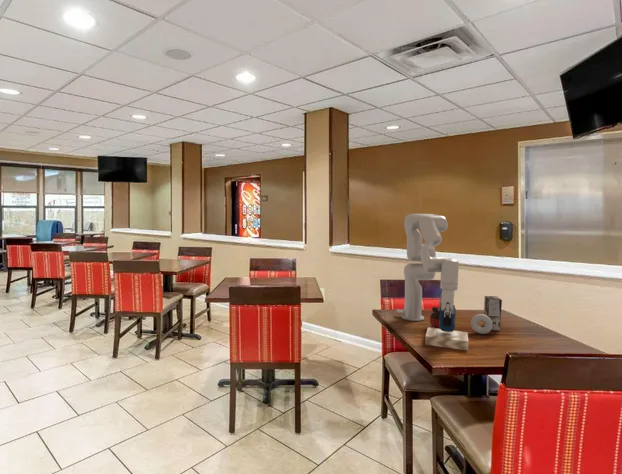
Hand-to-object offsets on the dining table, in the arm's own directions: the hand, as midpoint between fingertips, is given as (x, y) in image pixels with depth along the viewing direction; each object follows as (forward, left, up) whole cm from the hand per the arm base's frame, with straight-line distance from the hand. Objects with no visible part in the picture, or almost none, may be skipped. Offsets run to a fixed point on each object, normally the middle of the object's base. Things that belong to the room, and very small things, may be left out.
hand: (447, 323), depth 170 cm
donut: (+16, +21, -9) cm, 28 cm away
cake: (-4, +20, -9) cm, 22 cm away
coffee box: (+22, +35, -9) cm, 42 cm away
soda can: (0, 0, -3) cm, 3 cm away
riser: (0, 0, -9) cm, 9 cm away
